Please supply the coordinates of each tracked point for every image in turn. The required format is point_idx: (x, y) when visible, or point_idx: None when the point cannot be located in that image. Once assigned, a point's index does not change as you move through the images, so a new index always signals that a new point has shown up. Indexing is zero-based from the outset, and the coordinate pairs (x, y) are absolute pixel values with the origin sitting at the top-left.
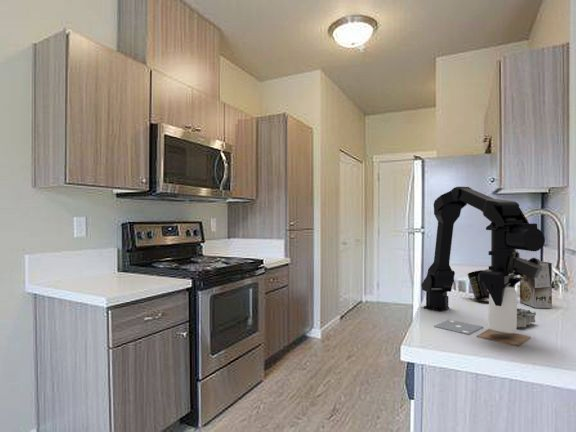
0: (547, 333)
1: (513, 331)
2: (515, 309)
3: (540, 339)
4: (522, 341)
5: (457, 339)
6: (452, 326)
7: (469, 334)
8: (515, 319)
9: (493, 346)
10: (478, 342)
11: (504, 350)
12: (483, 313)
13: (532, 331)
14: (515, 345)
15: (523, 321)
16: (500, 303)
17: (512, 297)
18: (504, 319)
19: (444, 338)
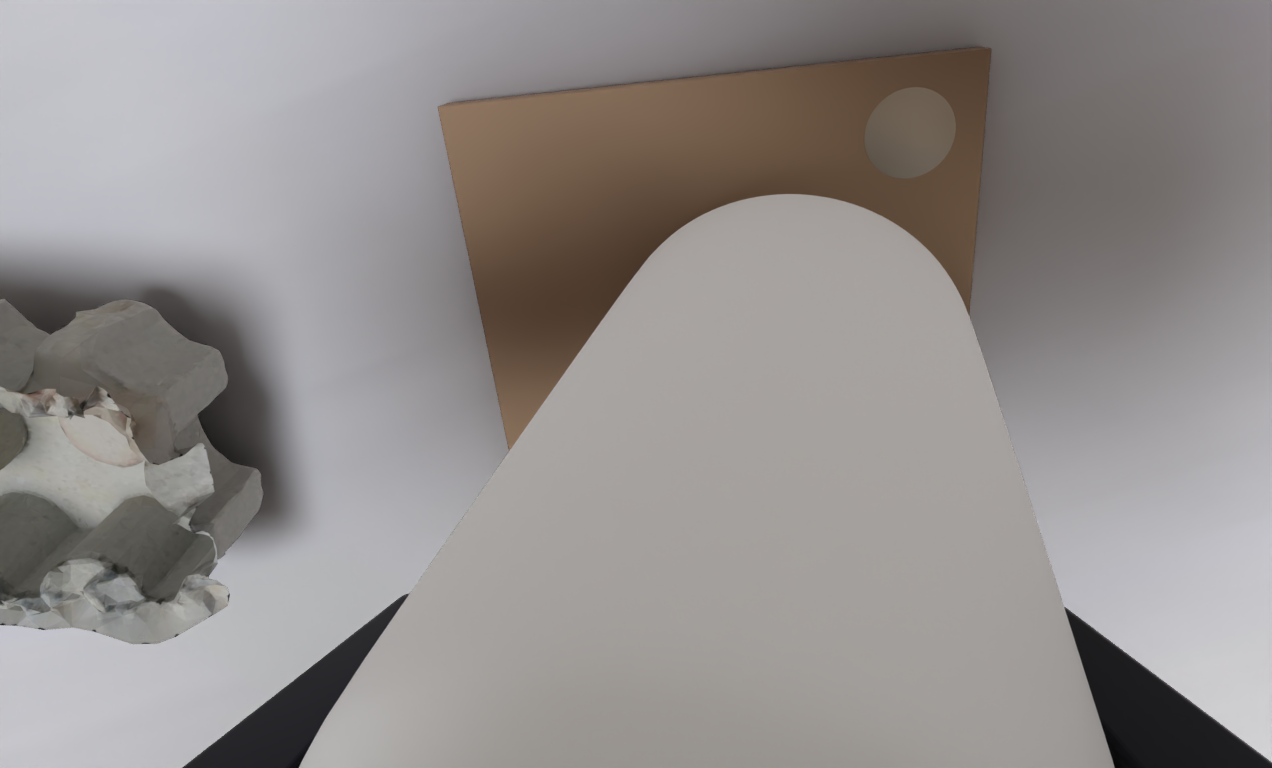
0: (18, 53)
1: (848, 206)
2: (789, 343)
3: (351, 6)
4: (751, 89)
5: (1144, 603)
6: None
7: None
8: (793, 257)
9: (1139, 278)
10: (1097, 439)
11: (1224, 125)
12: (55, 739)
13: (128, 212)
14: (982, 89)
15: (109, 343)
16: (1124, 663)
17: (935, 605)
18: (988, 379)
19: (1201, 684)
